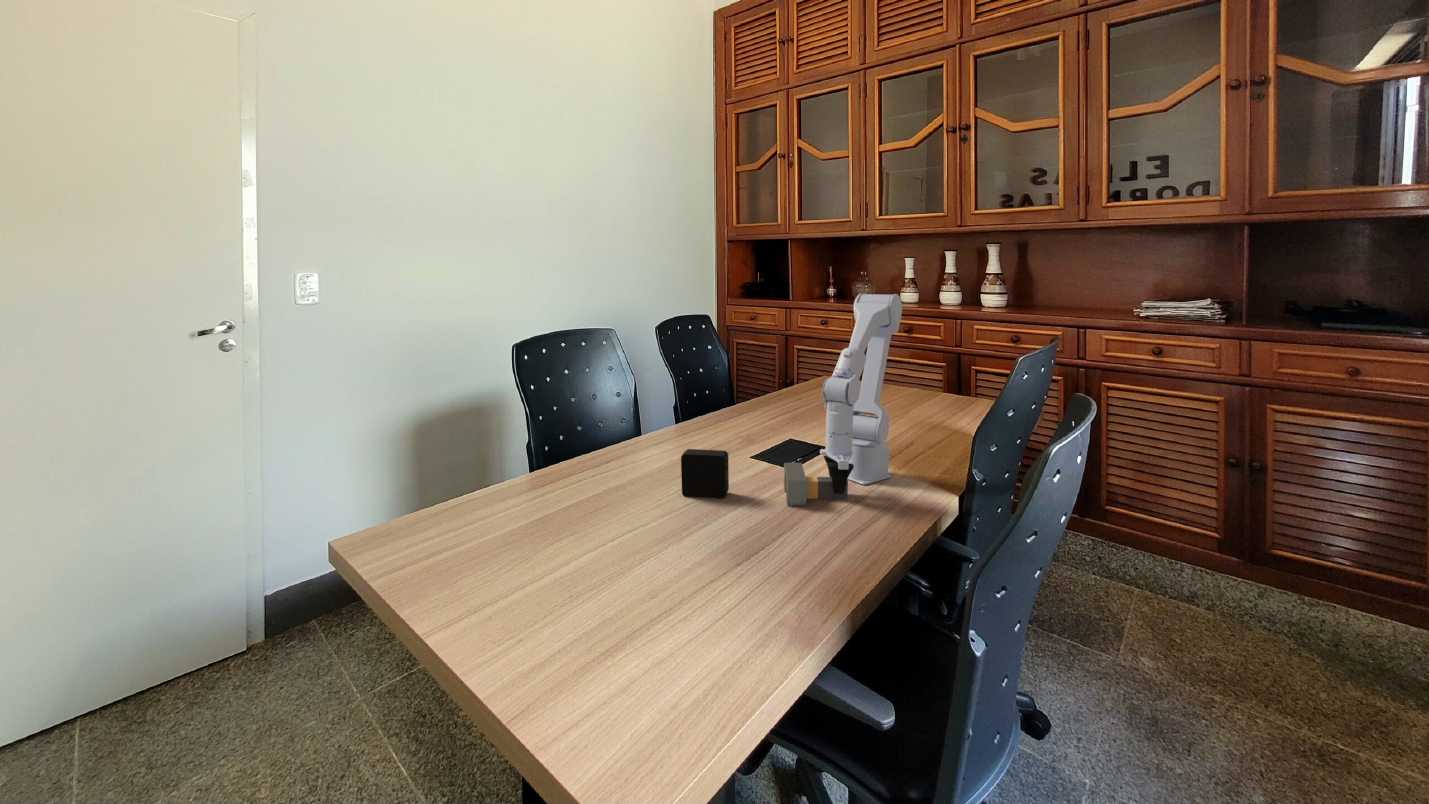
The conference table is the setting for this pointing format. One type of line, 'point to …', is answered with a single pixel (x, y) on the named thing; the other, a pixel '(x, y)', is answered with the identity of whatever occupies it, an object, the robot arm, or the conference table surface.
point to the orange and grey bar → (823, 489)
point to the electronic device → (705, 473)
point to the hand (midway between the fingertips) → (837, 490)
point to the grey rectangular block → (795, 484)
